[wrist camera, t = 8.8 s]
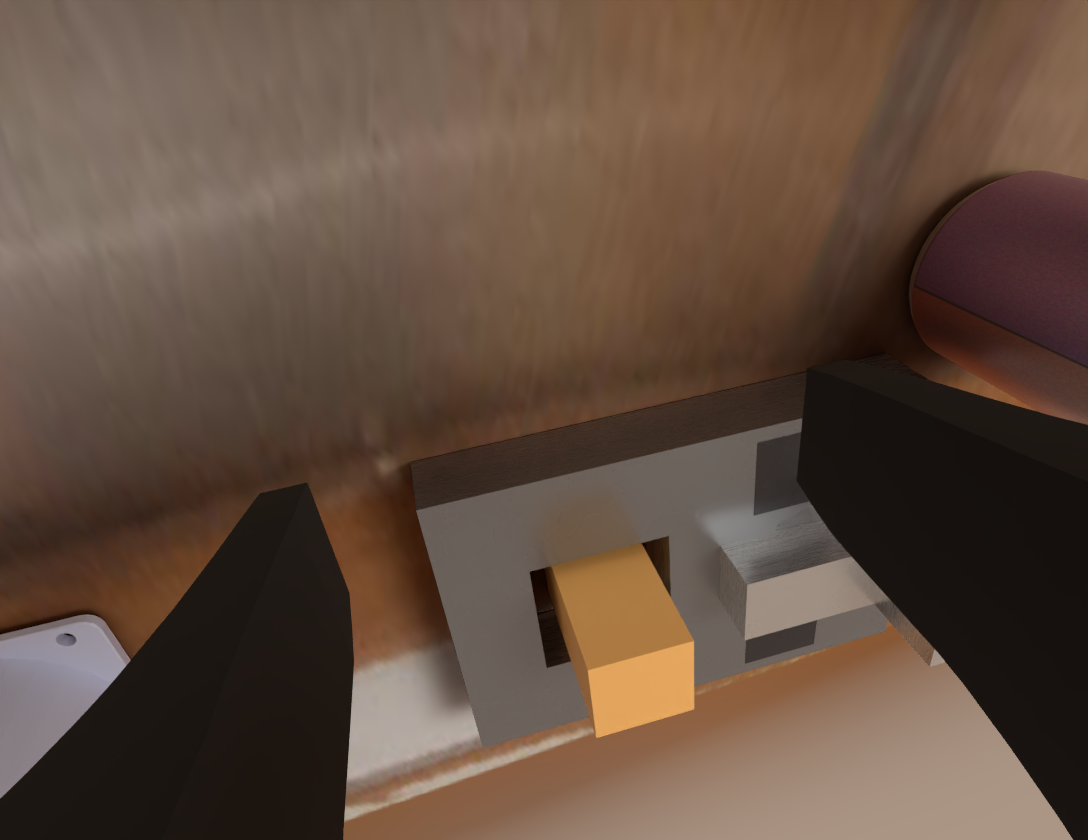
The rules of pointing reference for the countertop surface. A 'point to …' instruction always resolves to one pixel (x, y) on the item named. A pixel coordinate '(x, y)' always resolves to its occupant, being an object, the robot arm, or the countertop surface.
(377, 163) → the countertop surface
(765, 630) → the bracket
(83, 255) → the countertop surface
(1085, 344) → the beverage can
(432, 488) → the rosette plate
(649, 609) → the orange rectangular block
